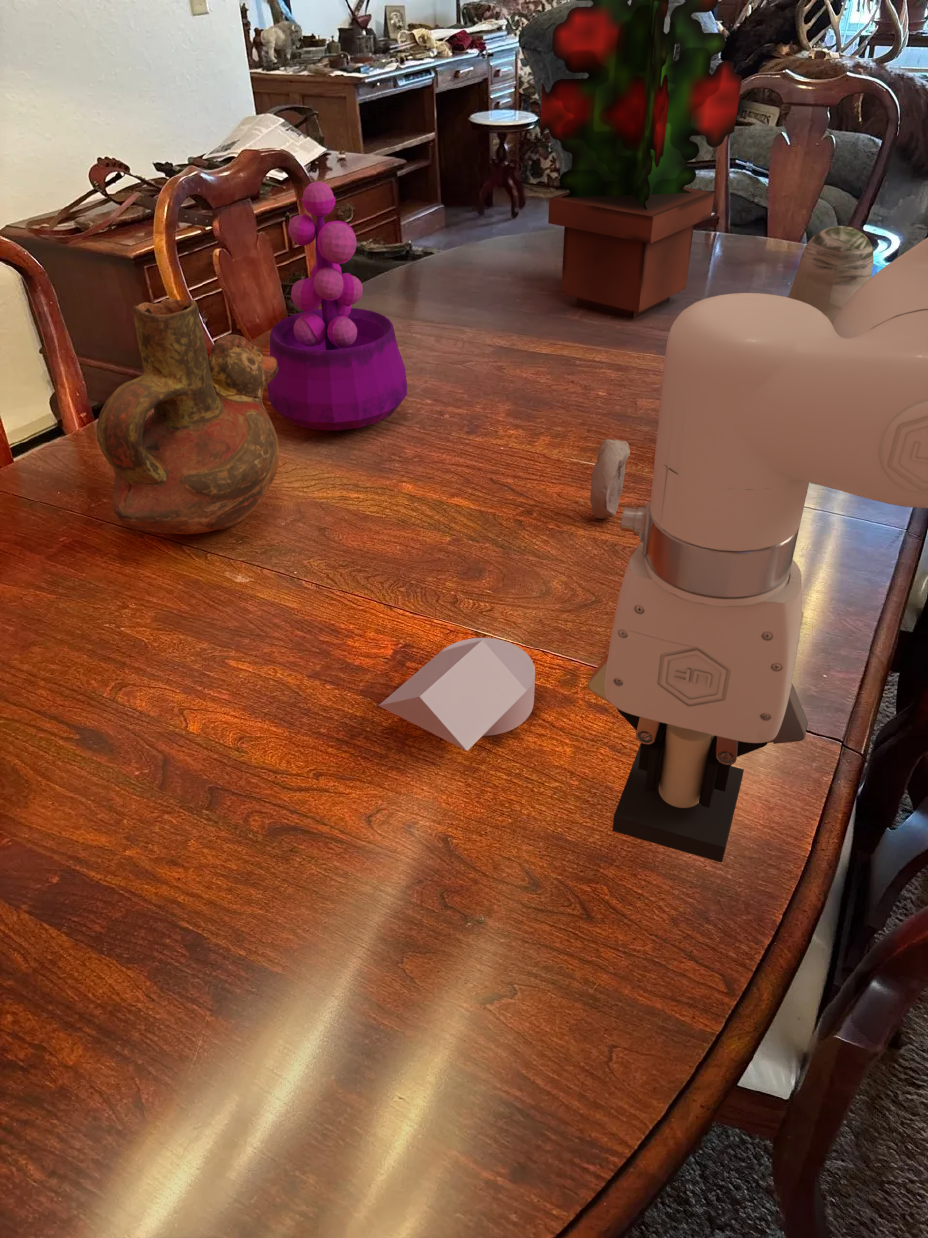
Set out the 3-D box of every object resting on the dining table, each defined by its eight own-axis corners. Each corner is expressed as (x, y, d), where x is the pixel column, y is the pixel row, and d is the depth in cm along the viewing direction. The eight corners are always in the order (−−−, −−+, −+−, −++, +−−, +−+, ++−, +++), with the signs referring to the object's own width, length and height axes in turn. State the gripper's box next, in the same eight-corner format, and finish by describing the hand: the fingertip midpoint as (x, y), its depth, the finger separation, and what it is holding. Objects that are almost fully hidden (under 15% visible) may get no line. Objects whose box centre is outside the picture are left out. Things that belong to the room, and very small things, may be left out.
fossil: (606, 535, 102) (614, 454, 96) (578, 527, 103) (583, 446, 97) (627, 512, 106) (636, 432, 100) (600, 504, 107) (606, 425, 101)
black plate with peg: (740, 784, 62) (758, 702, 58) (722, 863, 57) (739, 779, 53) (639, 757, 65) (648, 676, 60) (612, 831, 59) (619, 748, 55)
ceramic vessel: (341, 481, 113) (319, 272, 97) (198, 591, 95) (143, 356, 79) (232, 452, 119) (195, 251, 104) (78, 550, 101) (6, 325, 86)
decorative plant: (433, 403, 130) (424, 172, 112) (363, 459, 117) (340, 208, 99) (322, 380, 137) (297, 159, 119) (244, 431, 124) (202, 191, 106)
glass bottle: (837, 491, 109) (903, 244, 92) (748, 484, 110) (796, 240, 93) (828, 453, 116) (887, 218, 99) (745, 446, 118) (789, 215, 101)
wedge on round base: (467, 780, 73) (553, 691, 82) (466, 719, 69) (556, 631, 78) (381, 734, 78) (470, 654, 86) (375, 674, 74) (469, 595, 82)
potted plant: (534, 305, 161) (544, -4, 134) (604, 274, 175) (626, -13, 147) (644, 333, 150) (679, 2, 123) (709, 298, 163) (754, -9, 136)
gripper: (549, 551, 48) (543, 791, 59) (880, 615, 43) (806, 865, 54) (590, 485, 54) (577, 716, 65) (888, 534, 48) (819, 777, 60)
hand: (682, 782), depth 59 cm, fingers closed on black plate with peg, 2 cm apart
